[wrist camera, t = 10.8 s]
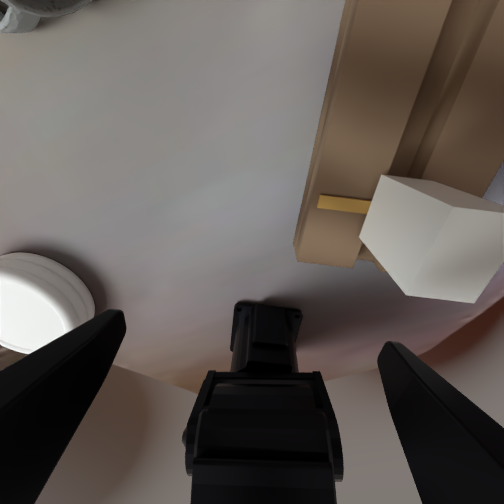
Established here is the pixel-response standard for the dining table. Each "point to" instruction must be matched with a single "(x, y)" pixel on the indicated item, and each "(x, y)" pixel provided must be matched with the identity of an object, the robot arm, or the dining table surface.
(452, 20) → the fader track
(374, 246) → the fader tab
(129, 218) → the dining table surface
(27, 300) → the white bowl
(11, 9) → the ceramic mug
